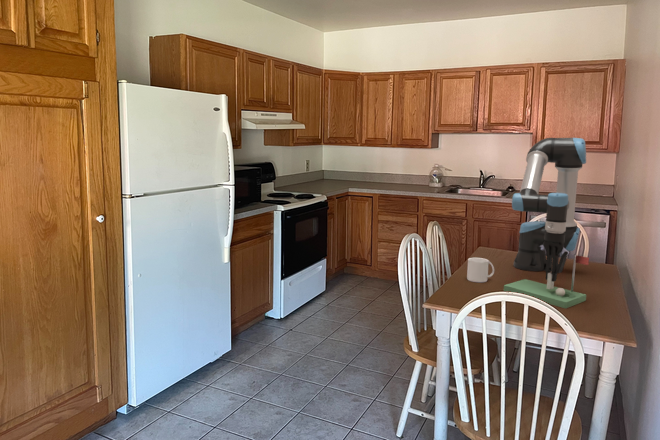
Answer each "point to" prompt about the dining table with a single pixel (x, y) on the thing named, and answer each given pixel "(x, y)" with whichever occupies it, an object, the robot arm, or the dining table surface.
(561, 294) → the ball
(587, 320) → the dining table surface
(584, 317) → the dining table surface
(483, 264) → the mug
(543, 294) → the green
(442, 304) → the dining table surface
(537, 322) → the dining table surface
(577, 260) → the flag pin
